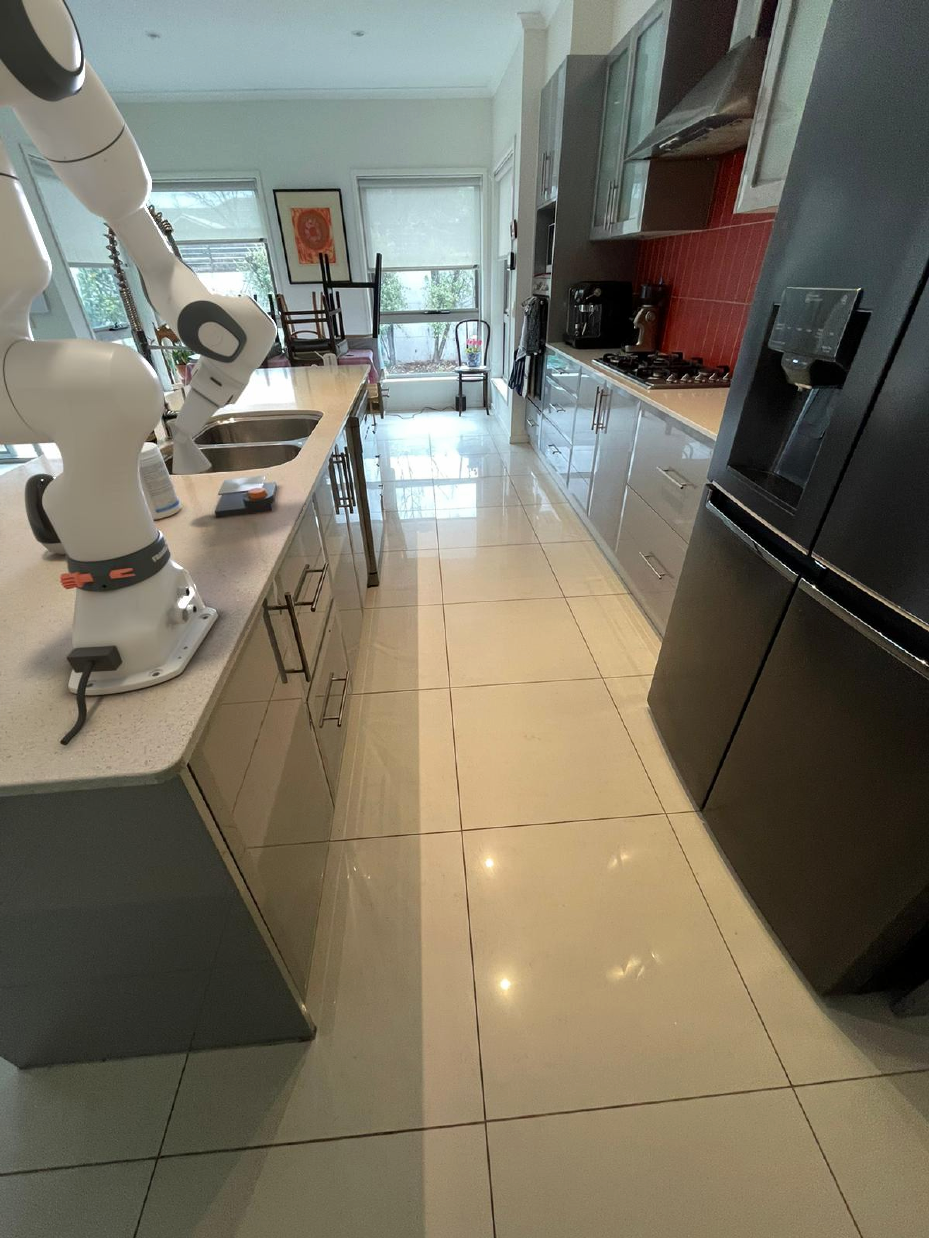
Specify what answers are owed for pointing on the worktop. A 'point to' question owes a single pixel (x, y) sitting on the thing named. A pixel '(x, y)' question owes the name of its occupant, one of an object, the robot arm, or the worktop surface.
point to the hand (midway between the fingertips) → (181, 438)
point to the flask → (187, 455)
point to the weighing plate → (241, 485)
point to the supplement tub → (157, 483)
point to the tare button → (257, 493)
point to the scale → (246, 502)
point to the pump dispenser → (41, 513)
